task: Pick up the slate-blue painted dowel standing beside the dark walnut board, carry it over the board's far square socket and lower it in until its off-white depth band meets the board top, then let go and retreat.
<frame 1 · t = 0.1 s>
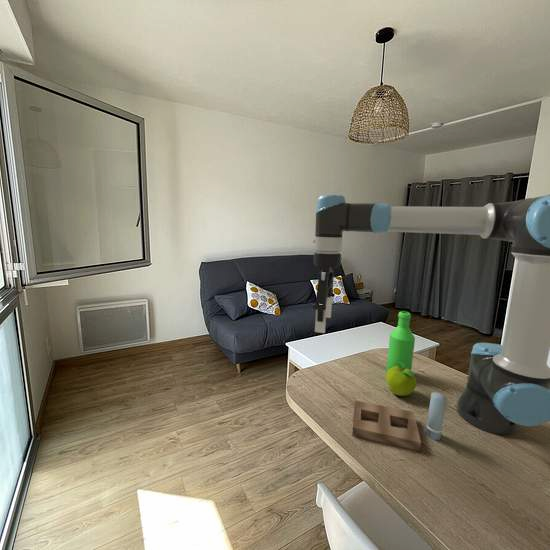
hand: (323, 324, 86), 28 cm above the table, fingers open, 13 cm apart
board: (383, 427, 84), on the table
peg: (433, 435, 81), on the table
bottle: (398, 374, 114), on the table
fruit: (398, 393, 101), on the table
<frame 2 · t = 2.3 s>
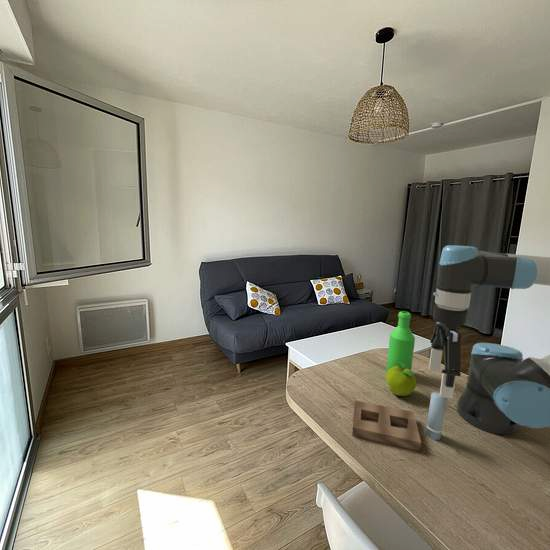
hand: (439, 382, 78), 16 cm above the table, fingers open, 13 cm apart
nothing on the table moved.
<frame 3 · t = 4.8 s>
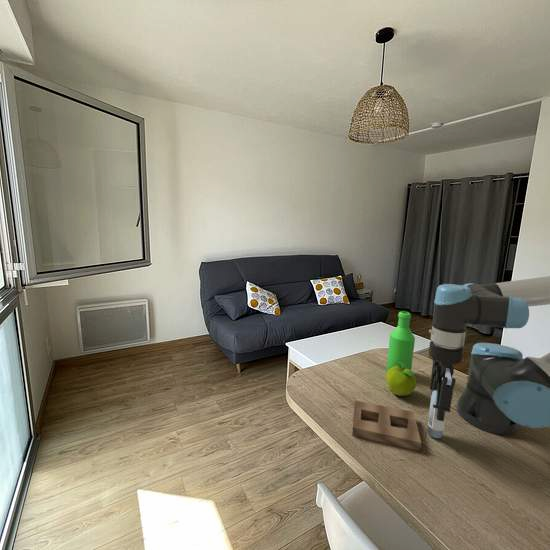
hand: (436, 423, 80), 4 cm above the table, fingers closed on peg, 3 cm apart
peg: (434, 433, 81), point 1 cm above the table, touching gripper
everything else where it was.
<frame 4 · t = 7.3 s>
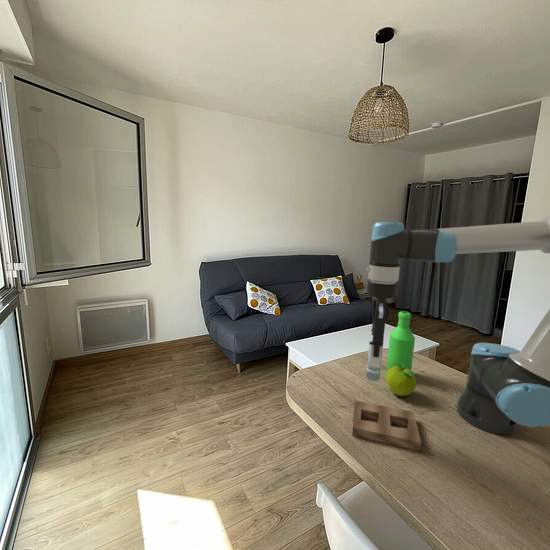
hand: (374, 363, 81), 19 cm above the table, fingers closed on peg, 3 cm apart
peg: (372, 377, 82), point 15 cm above the table, touching gripper
everything else where it was.
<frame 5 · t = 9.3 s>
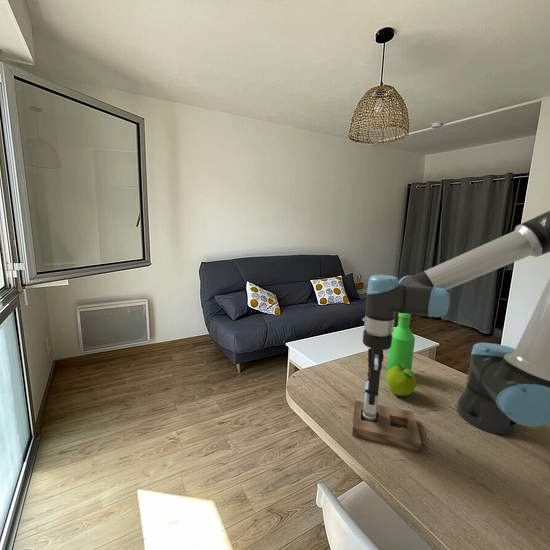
hand: (370, 408, 84), 5 cm above the table, fingers closed on peg, 3 cm apart
peg: (368, 421, 85), point 1 cm above the table, touching gripper
everything else where it was.
when the fingers open (4 cm above the table, at t = 10.1 s): peg stays where it is, resting in board.
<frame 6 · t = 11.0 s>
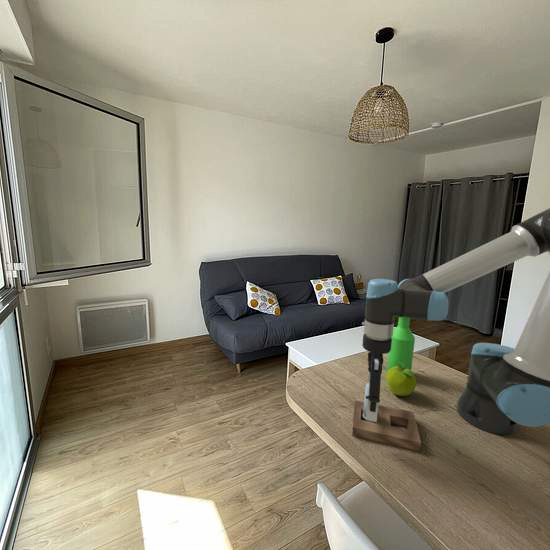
hand: (370, 405, 84), 6 cm above the table, fingers open, 13 cm apart
peg: (368, 423, 85), resting in board
everything else where it was.
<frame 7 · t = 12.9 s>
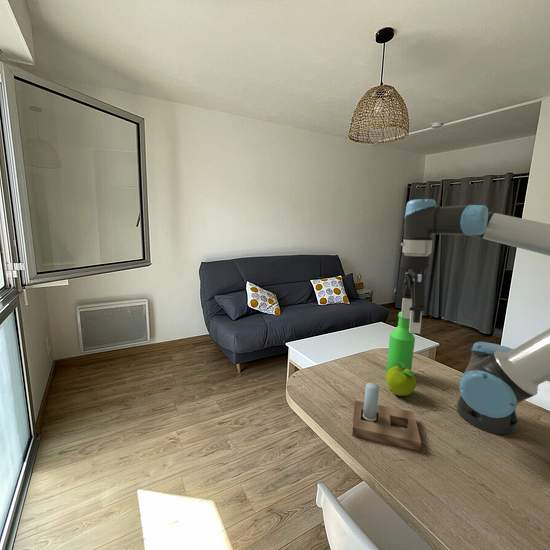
hand: (409, 325, 88), 28 cm above the table, fingers open, 13 cm apart
nothing on the table moved.
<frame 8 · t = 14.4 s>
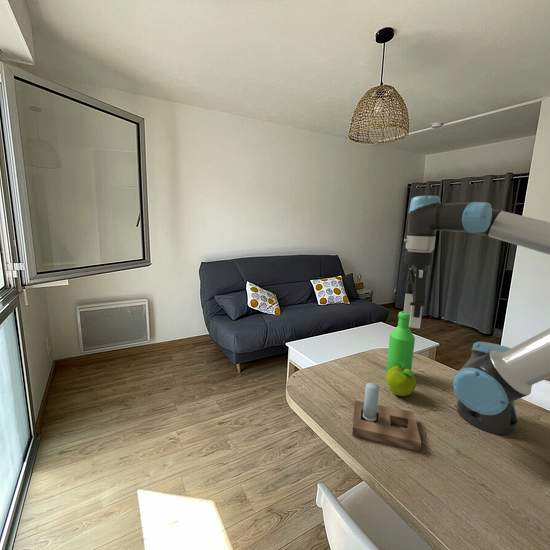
hand: (411, 320, 89), 29 cm above the table, fingers open, 13 cm apart
nothing on the table moved.
at the end: peg 0.1 cm from the target spot on the board, point 0.0 cm above the board's base; peg tilted 0°; the gripper is holding nothing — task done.
